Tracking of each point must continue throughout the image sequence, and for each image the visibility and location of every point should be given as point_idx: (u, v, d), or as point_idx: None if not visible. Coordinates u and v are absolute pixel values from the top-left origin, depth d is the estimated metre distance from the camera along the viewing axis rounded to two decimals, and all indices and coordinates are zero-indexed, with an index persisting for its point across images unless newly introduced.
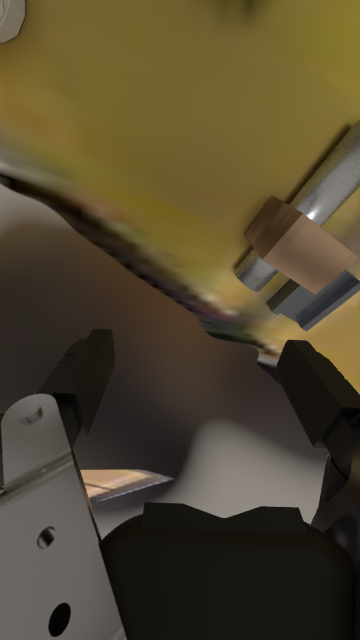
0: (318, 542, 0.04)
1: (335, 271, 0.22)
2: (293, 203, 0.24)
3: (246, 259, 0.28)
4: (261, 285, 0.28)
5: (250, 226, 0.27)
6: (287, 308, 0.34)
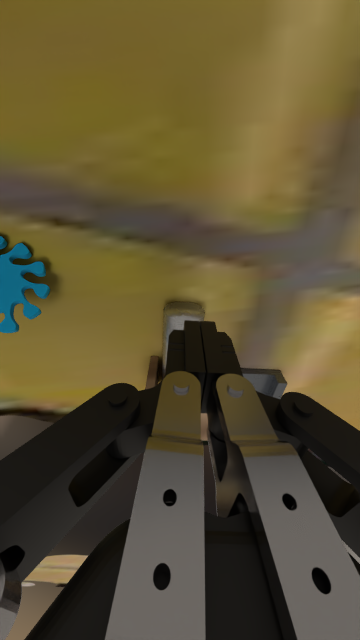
0: (231, 567, 0.04)
1: None
2: None
3: None
4: None
5: None
6: None
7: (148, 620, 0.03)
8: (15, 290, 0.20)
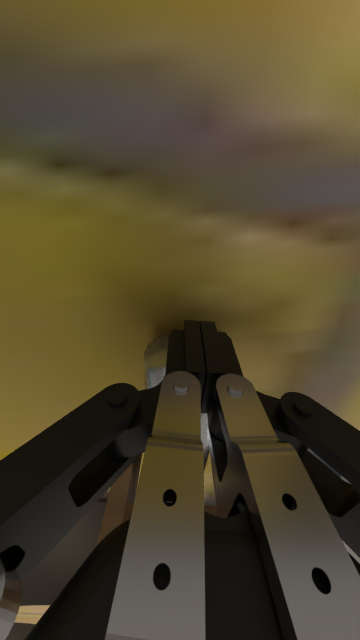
0: (231, 567, 0.04)
1: None
2: None
3: None
4: None
5: None
6: None
7: (148, 620, 0.03)
8: None
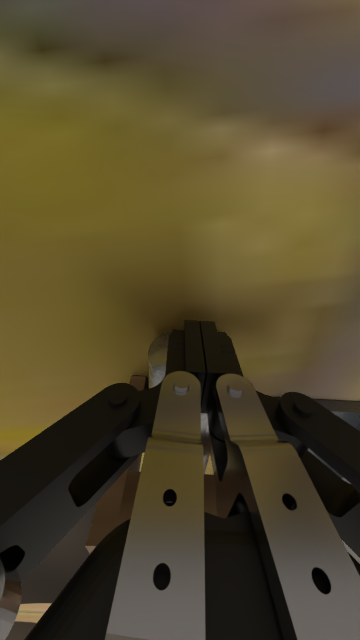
0: (231, 567, 0.04)
1: None
2: None
3: None
4: None
5: None
6: None
7: (148, 620, 0.03)
8: None
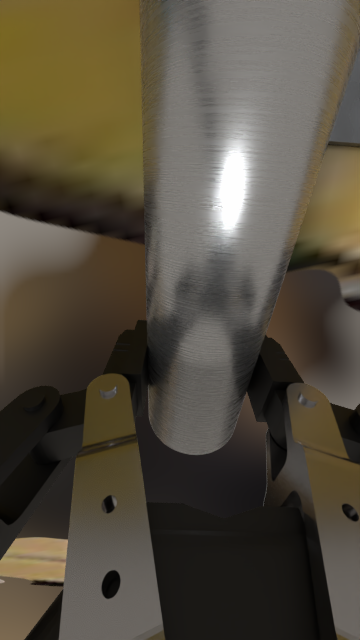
0: (274, 541, 0.04)
1: None
2: None
3: None
4: (221, 436, 0.09)
5: None
6: (351, 118, 0.14)
7: (102, 633, 0.03)
8: None
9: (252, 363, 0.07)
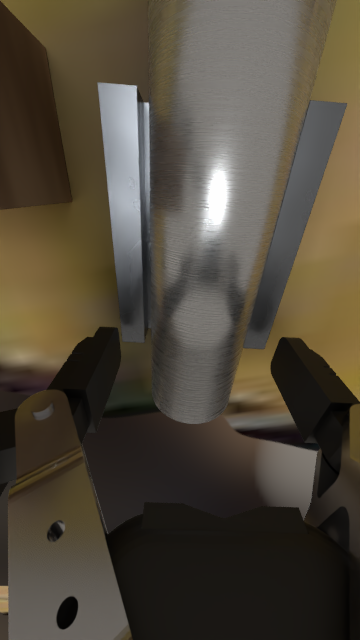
0: (311, 541, 0.04)
1: None
2: None
3: None
4: (215, 406, 0.10)
5: None
6: None
7: None
8: None
9: (240, 339, 0.09)
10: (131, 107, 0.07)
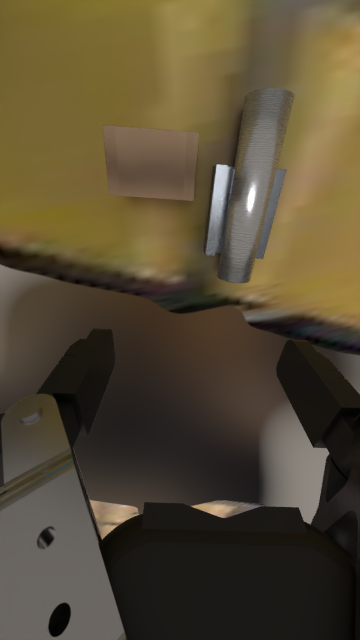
0: (318, 542, 0.04)
1: (189, 162, 0.19)
2: (232, 192, 0.24)
3: (220, 259, 0.28)
4: (247, 275, 0.28)
5: None
6: None
7: None
8: None
9: (257, 244, 0.26)
10: (224, 170, 0.24)
